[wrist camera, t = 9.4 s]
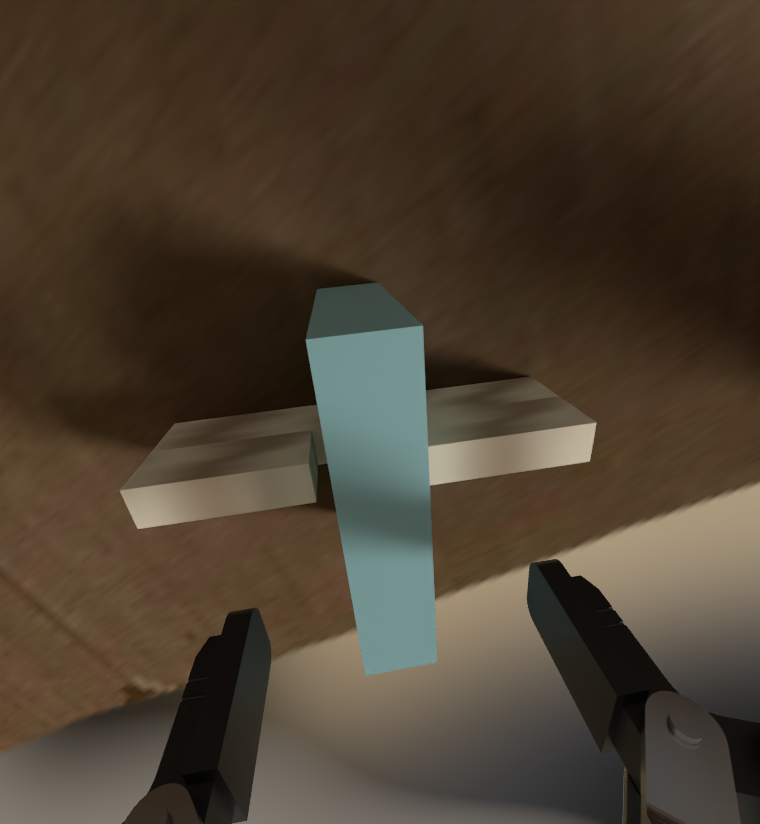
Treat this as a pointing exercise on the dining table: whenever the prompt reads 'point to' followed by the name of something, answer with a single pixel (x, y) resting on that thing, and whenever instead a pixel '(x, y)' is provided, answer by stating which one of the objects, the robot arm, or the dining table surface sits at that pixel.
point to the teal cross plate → (378, 466)
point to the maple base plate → (304, 450)
